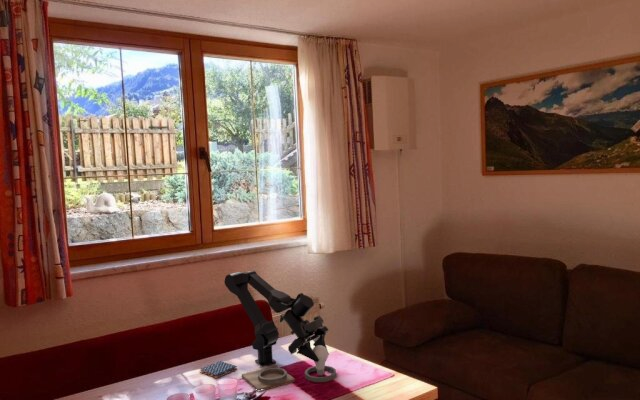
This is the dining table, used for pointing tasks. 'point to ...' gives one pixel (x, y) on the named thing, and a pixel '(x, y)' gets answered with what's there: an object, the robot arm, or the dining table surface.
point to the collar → (320, 379)
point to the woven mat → (218, 369)
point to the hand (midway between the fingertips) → (323, 358)
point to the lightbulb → (320, 358)
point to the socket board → (268, 378)
